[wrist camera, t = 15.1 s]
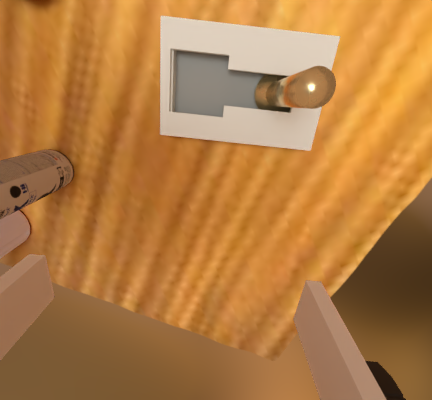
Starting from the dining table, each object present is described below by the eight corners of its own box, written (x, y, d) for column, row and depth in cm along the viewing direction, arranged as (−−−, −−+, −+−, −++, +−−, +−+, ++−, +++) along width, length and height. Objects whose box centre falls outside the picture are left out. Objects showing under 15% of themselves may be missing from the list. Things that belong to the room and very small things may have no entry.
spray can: (52, 192, 41) (-86, 263, 23) (26, 157, 39) (-151, 206, 20) (82, 177, 40) (-37, 241, 22) (57, 141, 38) (-101, 177, 19)
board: (167, 25, 31) (160, 15, 28) (327, 43, 32) (340, 36, 28) (165, 131, 37) (160, 134, 33) (302, 146, 37) (310, 150, 34)
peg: (258, 68, 32) (288, 40, 18) (300, 73, 32) (364, 49, 18) (251, 114, 34) (272, 122, 20) (290, 118, 35) (340, 129, 20)
